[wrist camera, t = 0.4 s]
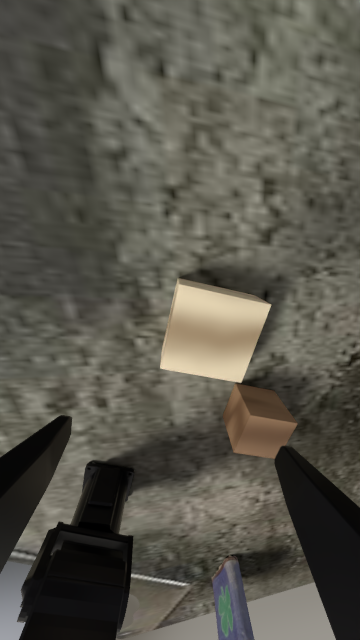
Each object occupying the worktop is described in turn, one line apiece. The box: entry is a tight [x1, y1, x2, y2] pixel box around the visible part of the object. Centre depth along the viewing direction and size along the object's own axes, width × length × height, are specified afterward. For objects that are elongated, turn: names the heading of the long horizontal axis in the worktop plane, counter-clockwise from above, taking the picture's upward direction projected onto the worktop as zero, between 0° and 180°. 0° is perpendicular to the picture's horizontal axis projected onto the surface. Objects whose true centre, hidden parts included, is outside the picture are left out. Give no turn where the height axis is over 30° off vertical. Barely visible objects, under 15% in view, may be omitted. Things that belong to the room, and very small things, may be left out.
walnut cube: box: [223, 383, 298, 459], centre depth 23 cm, size 5×5×5 cm
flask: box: [212, 555, 254, 640], centre depth 33 cm, size 9×3×11 cm, turn 162°
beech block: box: [160, 278, 271, 383], centre depth 20 cm, size 8×8×4 cm
